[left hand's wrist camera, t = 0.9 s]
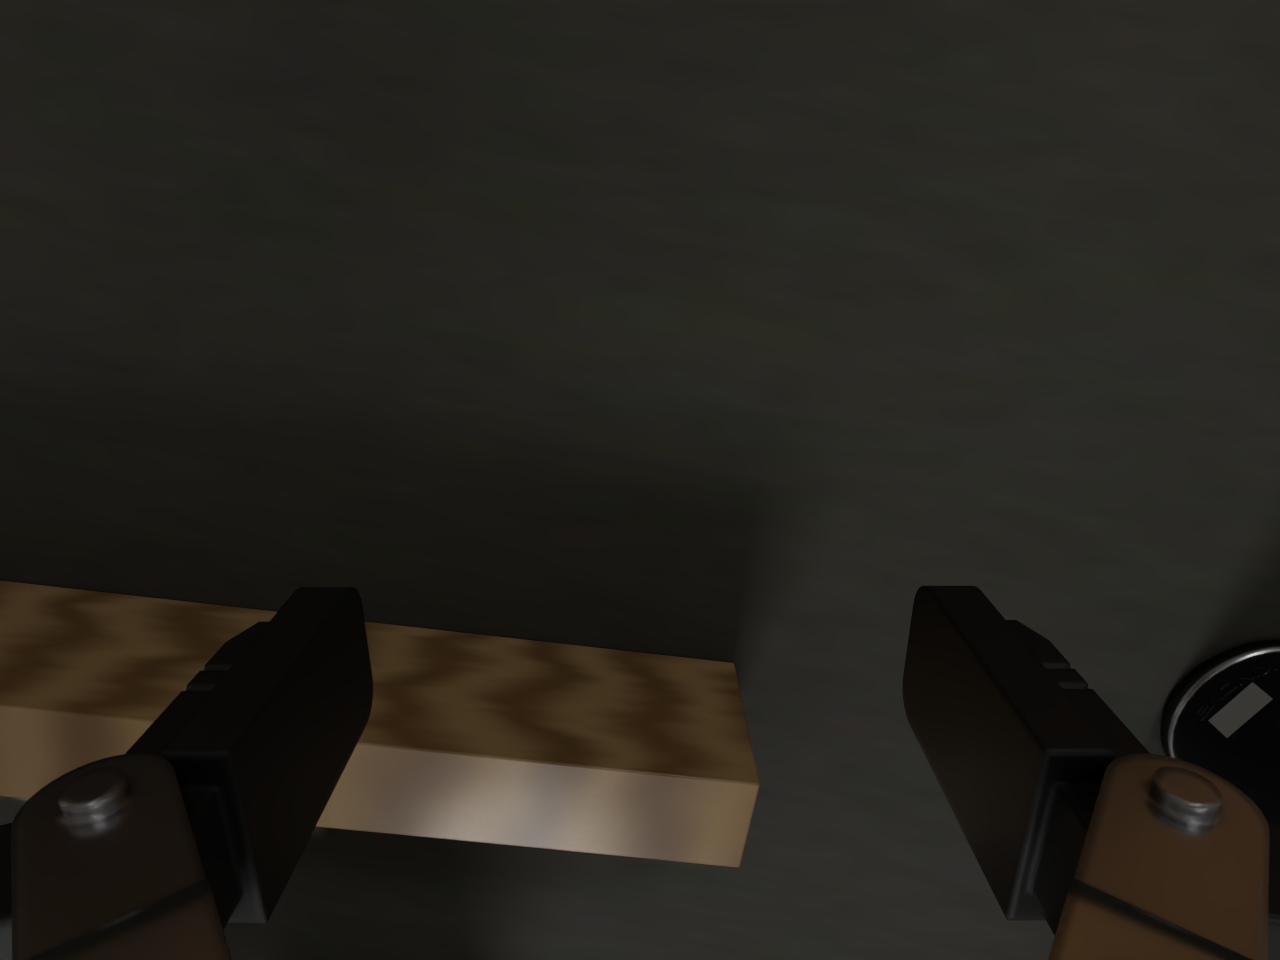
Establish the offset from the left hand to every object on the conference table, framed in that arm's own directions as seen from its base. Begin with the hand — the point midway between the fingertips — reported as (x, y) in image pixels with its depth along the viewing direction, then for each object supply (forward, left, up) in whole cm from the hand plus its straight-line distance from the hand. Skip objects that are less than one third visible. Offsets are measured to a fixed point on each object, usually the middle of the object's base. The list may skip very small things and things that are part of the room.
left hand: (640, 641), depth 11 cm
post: (+4, +26, -25) cm, 36 cm away
